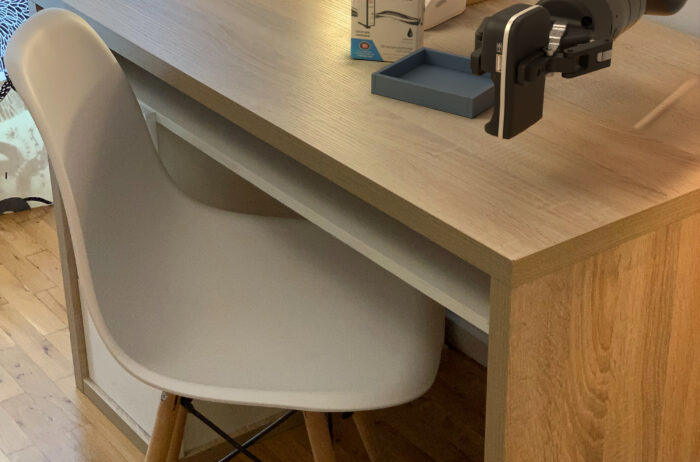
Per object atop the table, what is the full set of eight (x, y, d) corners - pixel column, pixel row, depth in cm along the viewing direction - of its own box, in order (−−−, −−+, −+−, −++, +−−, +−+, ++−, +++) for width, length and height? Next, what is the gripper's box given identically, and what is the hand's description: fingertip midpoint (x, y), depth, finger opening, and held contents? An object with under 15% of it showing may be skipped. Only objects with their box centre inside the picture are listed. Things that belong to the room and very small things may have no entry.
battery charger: (509, 111, 104) (517, -5, 99) (544, 120, 102) (554, 2, 97) (471, 134, 99) (477, 14, 94) (507, 144, 97) (515, 22, 92)
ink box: (349, 59, 132) (348, -36, 126) (358, 46, 136) (358, -47, 131) (417, 64, 130) (420, -32, 125) (424, 51, 134) (427, -43, 129)
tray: (520, 87, 124) (521, 68, 122) (472, 118, 116) (473, 98, 114) (422, 64, 130) (423, 46, 129) (370, 92, 122) (370, 73, 121)
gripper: (518, -27, 110) (430, 16, 97) (651, -6, 102) (575, 44, 90) (513, 43, 113) (428, 93, 101) (642, 69, 106) (567, 126, 94)
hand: (498, 69), depth 96 cm, fingers closed on battery charger, 4 cm apart
